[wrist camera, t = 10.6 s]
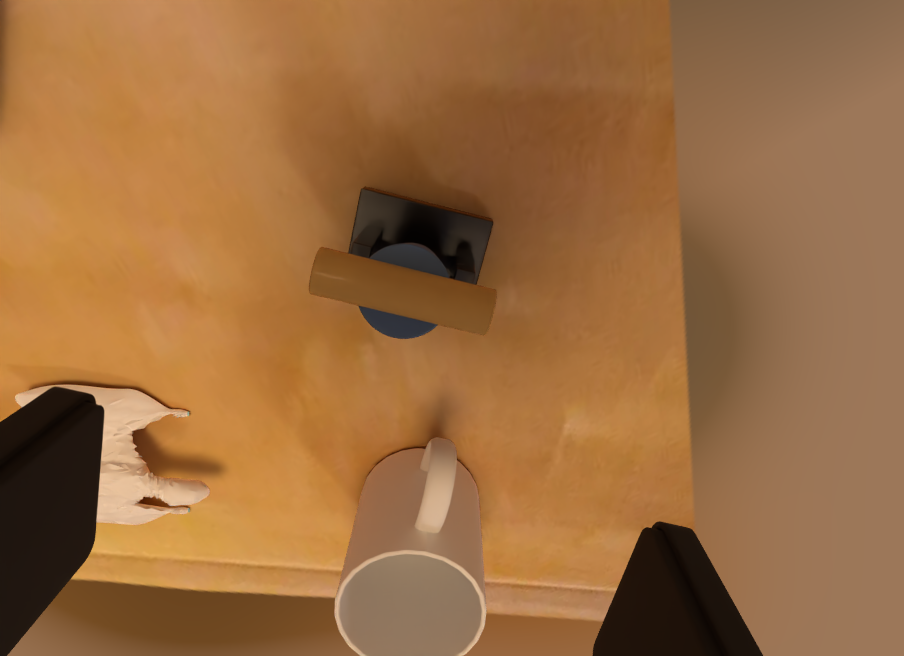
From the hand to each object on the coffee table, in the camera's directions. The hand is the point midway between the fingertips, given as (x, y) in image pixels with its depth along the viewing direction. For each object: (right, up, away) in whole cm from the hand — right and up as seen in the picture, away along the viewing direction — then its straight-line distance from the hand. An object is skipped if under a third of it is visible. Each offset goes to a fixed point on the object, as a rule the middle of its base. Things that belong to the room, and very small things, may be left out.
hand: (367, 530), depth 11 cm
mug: (0, -6, +31) cm, 32 cm away
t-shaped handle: (0, +7, +15) cm, 17 cm away
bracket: (-1, +8, +26) cm, 28 cm away
